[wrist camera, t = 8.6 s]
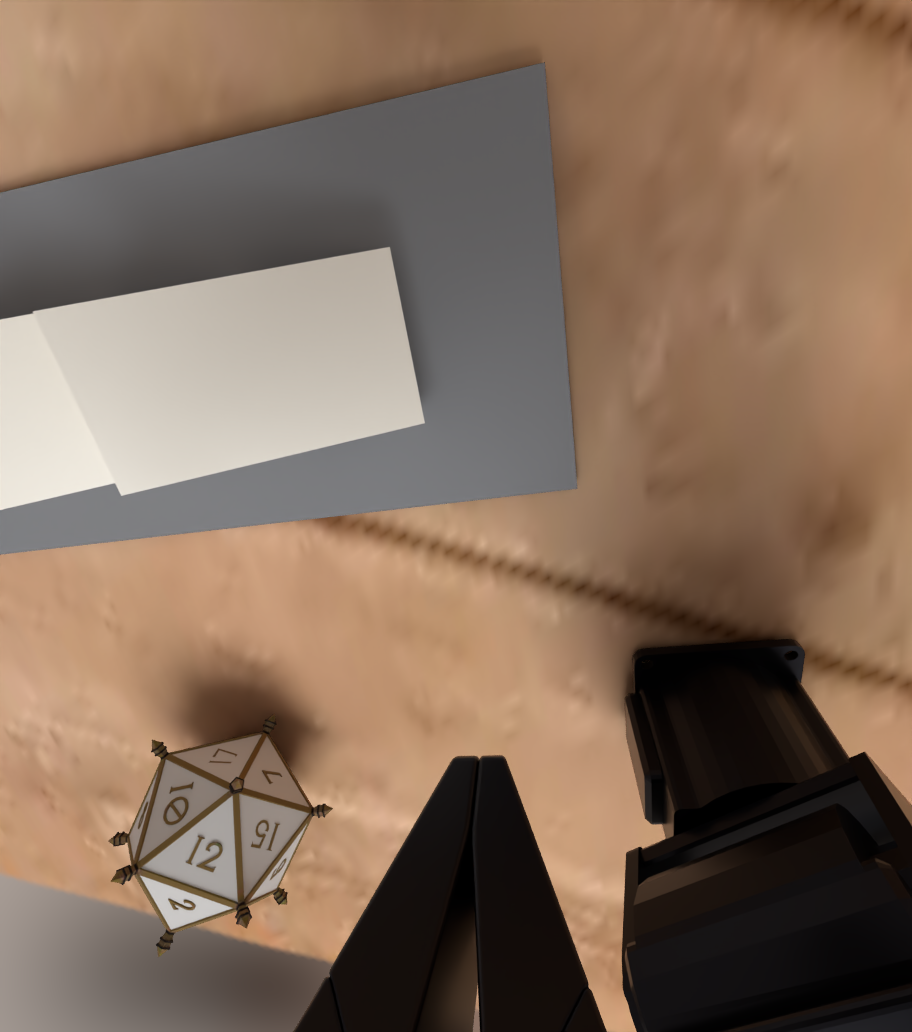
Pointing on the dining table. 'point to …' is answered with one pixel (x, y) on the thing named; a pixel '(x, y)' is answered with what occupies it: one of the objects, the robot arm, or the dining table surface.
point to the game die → (216, 831)
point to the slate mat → (324, 234)
